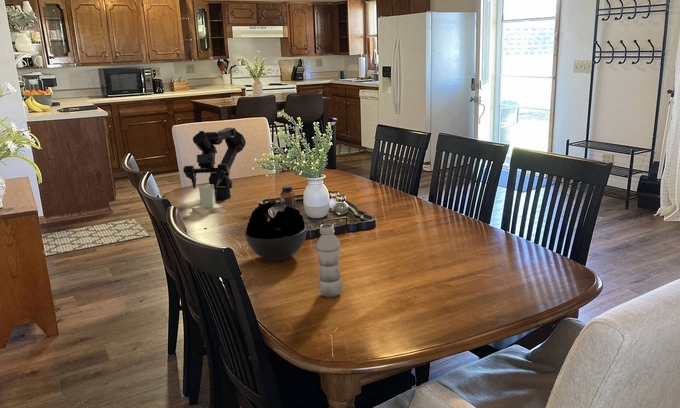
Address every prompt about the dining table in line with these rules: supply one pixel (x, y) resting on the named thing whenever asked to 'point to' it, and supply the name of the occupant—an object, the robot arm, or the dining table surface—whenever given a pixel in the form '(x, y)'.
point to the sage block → (207, 196)
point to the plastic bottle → (329, 262)
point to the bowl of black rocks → (275, 232)
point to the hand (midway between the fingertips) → (204, 187)
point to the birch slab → (208, 209)
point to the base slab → (209, 214)
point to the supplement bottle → (288, 197)
